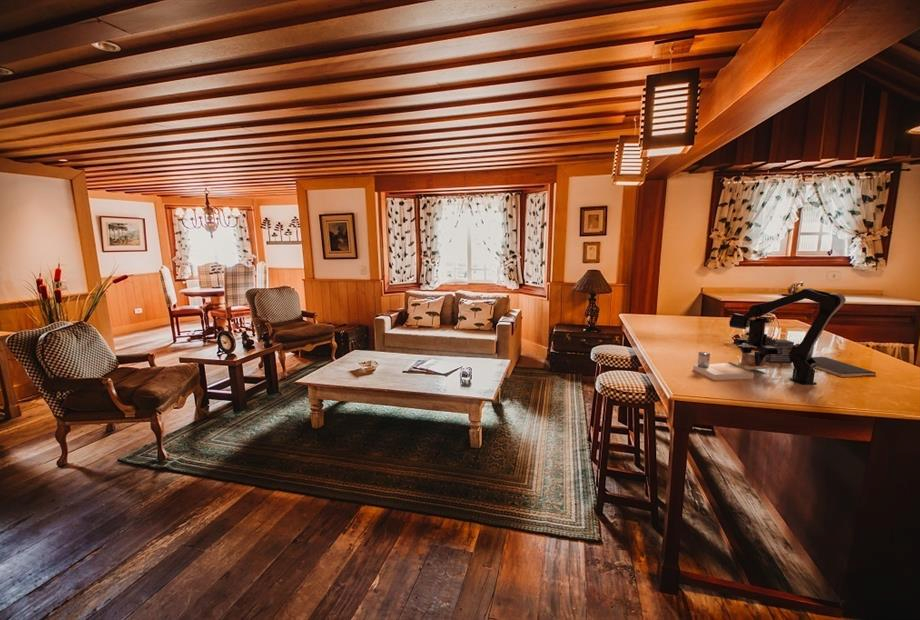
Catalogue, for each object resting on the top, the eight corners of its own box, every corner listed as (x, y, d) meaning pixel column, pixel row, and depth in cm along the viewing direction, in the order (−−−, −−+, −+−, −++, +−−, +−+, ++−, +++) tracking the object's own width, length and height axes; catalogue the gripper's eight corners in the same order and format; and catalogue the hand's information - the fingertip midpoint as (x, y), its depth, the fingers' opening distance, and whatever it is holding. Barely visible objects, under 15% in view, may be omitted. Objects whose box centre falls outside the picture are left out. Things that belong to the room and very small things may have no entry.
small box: (782, 359, 195) (785, 339, 193) (792, 363, 189) (795, 342, 187) (760, 358, 196) (762, 338, 194) (769, 362, 190) (771, 342, 188)
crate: (767, 368, 176) (768, 355, 175) (748, 369, 176) (749, 356, 174) (756, 364, 182) (757, 351, 181) (738, 365, 181) (739, 352, 180)
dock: (754, 378, 169) (755, 371, 168) (714, 380, 168) (715, 373, 167) (730, 368, 182) (730, 362, 182) (693, 369, 181) (693, 363, 181)
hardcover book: (840, 378, 169) (841, 373, 169) (793, 362, 192) (794, 357, 191) (875, 377, 170) (876, 372, 169) (824, 361, 192) (825, 356, 192)
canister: (711, 367, 176) (712, 354, 175) (701, 368, 176) (703, 354, 175) (704, 364, 180) (705, 351, 179) (694, 365, 180) (696, 352, 179)
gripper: (791, 335, 167) (787, 369, 170) (756, 326, 186) (752, 357, 188) (767, 336, 166) (763, 370, 169) (734, 326, 185) (731, 358, 187)
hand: (752, 363), depth 179 cm, fingers closed on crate, 5 cm apart
